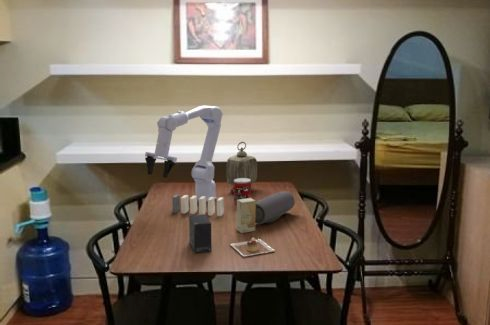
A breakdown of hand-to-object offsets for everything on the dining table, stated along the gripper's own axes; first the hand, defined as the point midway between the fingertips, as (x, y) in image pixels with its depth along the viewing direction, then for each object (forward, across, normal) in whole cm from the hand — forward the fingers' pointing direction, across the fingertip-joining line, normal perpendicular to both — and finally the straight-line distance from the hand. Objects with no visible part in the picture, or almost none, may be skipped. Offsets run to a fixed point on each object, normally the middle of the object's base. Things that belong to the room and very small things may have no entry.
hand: (157, 176), depth 204 cm
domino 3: (+13, +16, +10) cm, 22 cm away
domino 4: (+12, +19, +10) cm, 25 cm away
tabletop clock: (+2, +21, +48) cm, 52 cm away
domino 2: (+13, +12, +9) cm, 20 cm away
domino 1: (+14, +8, +8) cm, 18 cm away
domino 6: (+11, +27, +11) cm, 31 cm away
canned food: (+6, +29, +29) cm, 42 cm away
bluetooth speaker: (+9, +50, +13) cm, 52 cm away
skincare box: (+13, +45, -3) cm, 47 cm away
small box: (+20, +37, -23) cm, 48 cm away
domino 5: (+12, +23, +10) cm, 28 cm away
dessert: (+17, +54, -18) cm, 60 cm away
